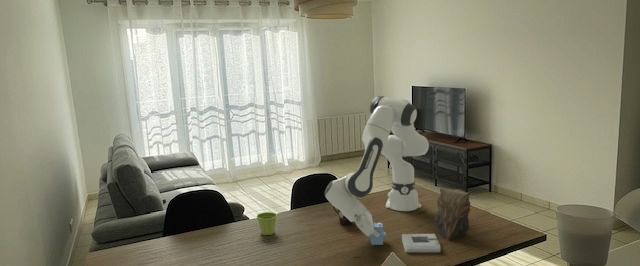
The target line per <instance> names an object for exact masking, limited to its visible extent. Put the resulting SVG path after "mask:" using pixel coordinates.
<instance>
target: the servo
mask: <svg viewBox="0 0 640 266" xmlns="http://www.w3.org/2000/svg"><path fill="white" fill-rule="evenodd" d="M373 227H374V229H375V230H376V231H378V232H379V233H380V236H379V237H376V236H375V235H373V234H371V235H370V236H369V237H368V236H367V238H370V244H371V245H372V246H375V245H376V246H377V245H378V246H381V245H384V238H387V234H386V231H384V226H383V223H382V222H374V223H373Z"/></svg>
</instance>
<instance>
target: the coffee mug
mask: <svg viewBox="0 0 640 266" xmlns="http://www.w3.org/2000/svg"><path fill="white" fill-rule="evenodd" d="M332 207H333V210H334V212H336V213H337V215H338V221H339V224H340V225H341V226H352V225H353V224H354V221H353V222H351V221H350V220H348V219H347V218H346V217H345V216H344V215H343V214H342V212H341V211H340V210H339V209H337V208H335V207H334V206H333V205H332ZM336 209H337V210H336Z"/></svg>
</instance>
